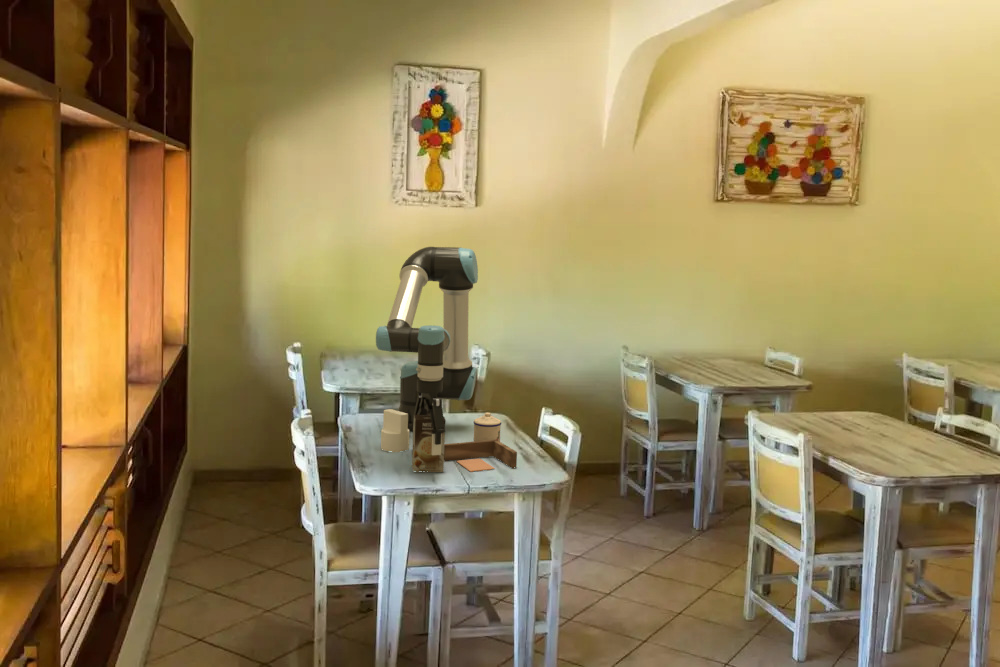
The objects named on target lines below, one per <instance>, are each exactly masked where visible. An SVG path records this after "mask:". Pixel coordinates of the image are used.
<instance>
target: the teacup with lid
mask: <svg viewBox="0 0 1000 667" xmlns="http://www.w3.org/2000/svg"><path fill="white" fill-rule="evenodd" d="M501 426H502V422H501V420H500V419H499V418H496V417H495V416H492V415H491V412H485V413H484V415H482V416H479V417H476V418H475V419H473V442H474V441H486V440H498V441H500V442H501Z"/></svg>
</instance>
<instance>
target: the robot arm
mask: <svg viewBox="0 0 1000 667" xmlns="http://www.w3.org/2000/svg"><path fill="white" fill-rule="evenodd" d="M478 274H479V268H478V261H477V256H476V253H475V251H474V249H471V248H467V247H466V248H464V247H455V246H453V247H451V246H448V247H447V246H443V247H441V246H427V247H423V248H420V249H418V250H417V251H415V252H413V253H412V254H410V255H409V257H408V258H407V259H406V260H405V262H403V264H402V266H401V268H400V271H399V280H400V282H399V285H398V288H397V292H396V294H395V298H394V302H393V304H392V308H391V312H390V314H389V317H388V321H387V323H386V324H387V325H382V326H378V327H377V329H376V333H375V346H376V348H377V349H378V350H379V351H382V352H383V351H384V352H395V353H396V352H398V353H413V354H414V353H415V354H417V360H416V361H415V360H414V361H410V362H406V363H404V364H403V365H401V368H400V376H399V379H400V383H399V384H400V385H399V387H400V388H399V392H400V393H399V394H400V395H399V406H398V409H397V411H400V412H403V413H407V414H408V429H409V432H413V423H414V415H427V413H429V415H430V419H431V423H432V427H433V431H432V433H431V434H432V455H441V443H442V433H443V432H445V433H446V424H445V425H444V418H443V417H444V413H443V412H444V411H443V400H450V401H451V400H455V401H468V400H471V398H472V397H473V394H474V390H475V386H476V380H477V371H478V369H477V367H475V366H473V361H472V360H471V359H470V358H469V297H470V296H469V293H470V291H472V290H473V288H474V285H475V284H477V283H478V279H479V275H478ZM428 282H438V288H439V289H440V290H441V291H442V292H443V295H442V296H443V302H442V303H443V310H442V311H443V314H442V315H443V319H442V320H443V321H442V322H443V326H440V325H421V326H420V327H413V324H414V320H415V316H416V312H417V309H418V306H419V302H420V300H421V299H420V298H421V295H422V291H423V288H424V287H425V286H427V284H428ZM417 413H418V414H417Z"/></svg>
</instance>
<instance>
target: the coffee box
mask: <svg viewBox="0 0 1000 667" xmlns="http://www.w3.org/2000/svg"><path fill="white" fill-rule="evenodd" d="M443 418H444V425H445V426H446V417H445V416H443ZM432 431H433V427H432V423H431V419H430V415H414V423H413V431H412V450H411V451H412V456H411V468H412V469H411V470H412V472H413V471H416V472H415V473H420V472H419V471H422V472H421V473H444V468H445V466H444V465H445V461H444V444H446V443H445V442H446V440H445V439H446V431H445V432H443V433H442V443H441V455H432V434H431V433H432ZM423 471H425V472H423ZM427 471H428V472H427Z"/></svg>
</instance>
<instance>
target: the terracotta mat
mask: <svg viewBox="0 0 1000 667" xmlns="http://www.w3.org/2000/svg"><path fill="white" fill-rule="evenodd" d="M455 461H456V463H457V464H458V463H459V464H458V465H460V466H461V467H462V466H463V469H465V468H466V469H465V470H466V471H468V472H469V471H470V472H469V473H475V472H474V471H477V472H484V471H483V470H487V471H492V470H491V469H495V470H496V468H495V467H494V466H492V465H490V464H489V463H488V462H486V461H484V460H483V459H482V458H473V459H462V460H455Z"/></svg>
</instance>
